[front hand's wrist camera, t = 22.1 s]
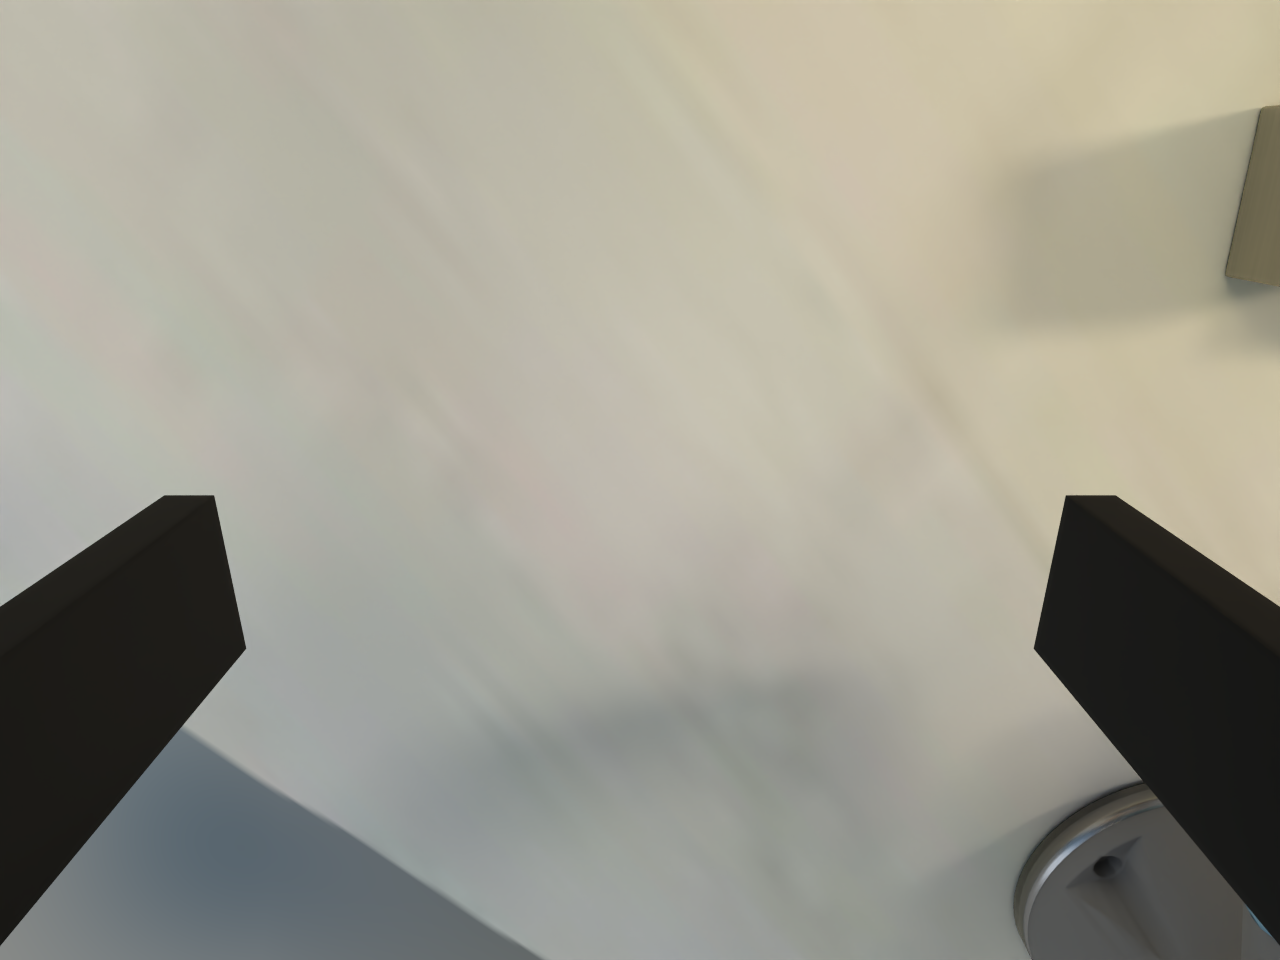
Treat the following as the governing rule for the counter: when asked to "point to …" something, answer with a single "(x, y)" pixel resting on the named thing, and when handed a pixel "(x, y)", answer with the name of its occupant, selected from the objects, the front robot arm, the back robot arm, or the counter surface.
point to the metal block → (1260, 208)
